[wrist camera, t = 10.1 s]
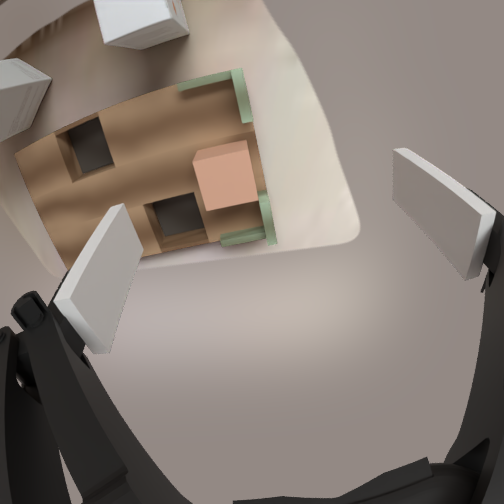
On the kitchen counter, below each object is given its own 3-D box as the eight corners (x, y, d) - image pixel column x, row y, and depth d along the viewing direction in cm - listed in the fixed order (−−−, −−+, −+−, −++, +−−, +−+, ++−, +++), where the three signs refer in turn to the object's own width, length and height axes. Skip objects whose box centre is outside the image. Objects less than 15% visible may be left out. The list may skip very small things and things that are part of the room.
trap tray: (26, 146, 29) (0, 162, 24) (240, 68, 27) (242, 68, 22) (77, 260, 39) (61, 287, 34) (271, 217, 37) (277, 243, 32)
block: (197, 150, 29) (192, 161, 26) (246, 139, 29) (248, 149, 26) (209, 194, 32) (206, 211, 29) (255, 184, 32) (258, 200, 28)
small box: (125, -8, 21) (84, -31, 12) (175, -25, 20) (151, -60, 12) (140, 51, 25) (101, 46, 16) (191, 35, 25) (172, 18, 16)
